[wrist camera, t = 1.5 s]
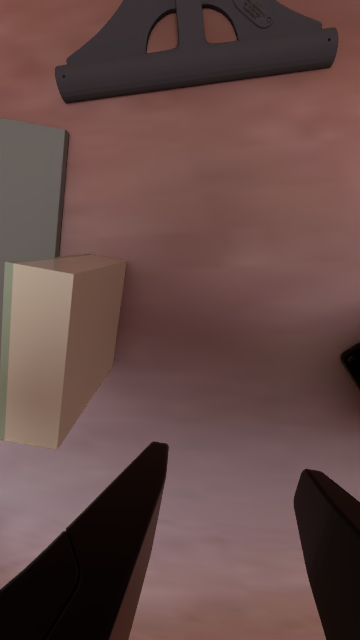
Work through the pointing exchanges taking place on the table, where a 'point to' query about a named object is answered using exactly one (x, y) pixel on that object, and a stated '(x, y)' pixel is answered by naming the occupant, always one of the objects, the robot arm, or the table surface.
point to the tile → (55, 342)
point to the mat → (30, 193)
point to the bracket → (193, 48)
